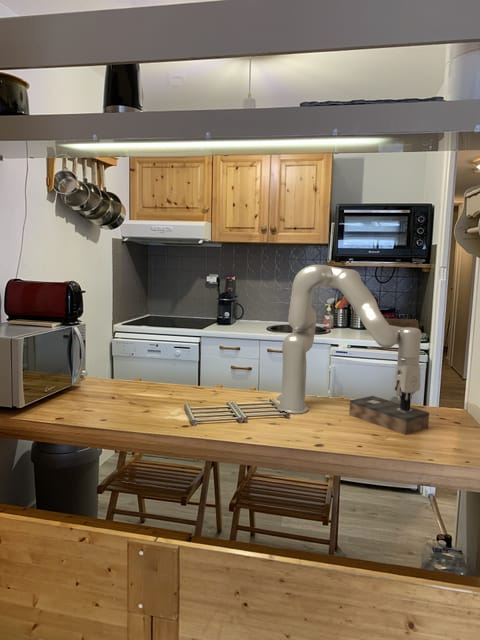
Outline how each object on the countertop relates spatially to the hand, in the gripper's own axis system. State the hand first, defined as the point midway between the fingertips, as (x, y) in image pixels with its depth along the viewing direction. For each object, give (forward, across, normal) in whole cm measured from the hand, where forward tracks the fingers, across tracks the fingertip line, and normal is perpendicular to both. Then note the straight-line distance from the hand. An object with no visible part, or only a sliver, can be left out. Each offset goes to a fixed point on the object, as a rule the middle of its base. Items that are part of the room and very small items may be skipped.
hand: (405, 409), depth 180 cm
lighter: (+7, +18, +15) cm, 24 cm away
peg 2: (+6, 0, 0) cm, 6 cm away
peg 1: (+7, 0, +14) cm, 16 cm away
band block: (+7, 0, +7) cm, 10 cm away
